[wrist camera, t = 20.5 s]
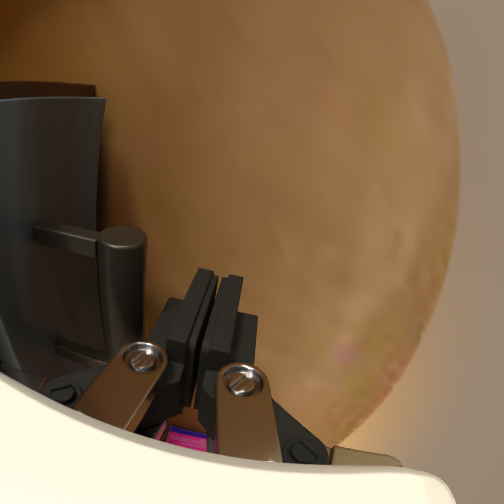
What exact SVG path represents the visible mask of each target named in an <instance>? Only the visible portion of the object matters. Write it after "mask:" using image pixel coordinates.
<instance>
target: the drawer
mask: <svg viewBox="0 0 504 504" xmlns="http://www.w3.org/2000/svg"><path fill="white" fill-rule="evenodd" d="M105 104H106V98H98V97H30V98H14V99H2V100H0V364H3V365H6V366H9V367H13V368H16V369H20V370H23V371H27V372H30V373H34V374H38V375H42V376H46V378H47V380H49V381H50V380H52V379H54V378H57V377H60V376H64V375H68V374H72V373H76V372H80V371H83V370H87V369H91V368H95V367H98V366H102V365H105V364H107V363H108V362H109V361H110V360H111V359H112V357H113V356H114V355H115V354H116V353H117V352H118V350H119V349H120V348H121V347H122V346H123V345H125V344H126V343H128V342H131V341H135V340H145V277H146V253H147V236H146V234H145V233H144V232H143V231H142V230H140V229H138V228H135V227H131V226H113V227H109V228H106V229H104V230H102V231H101V232H97V231H96V199H97V178H98V163H99V152H100V142H101V133H102V125H103V117H104V111H105ZM97 258H98V267H99V283H100V296H101V307H102V316H103V325H104V333H105V340H106V347H107V353H106V352H103V351H104V350H105V341H104V334H103V326H102V318H101V309H100V299H99V287H98V273H97Z"/></svg>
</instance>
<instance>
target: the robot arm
mask: <svg viewBox="0 0 504 504" xmlns="http://www.w3.org/2000/svg"><path fill="white" fill-rule="evenodd" d="M242 283H243V277H239V276H235V275H230V274H229V276H228V278H225V277H222V280H221V283H220V286H219V290H218V293H217V296H216V290H217V284H218V276H215V275H214V271H211V270H206V269H201V268H199V269H198V271H197V273H196V275H195V277H194V279H193V281H192V283H191V285H190V287H189V289H188V292H187V294H186V296H185V298H184V300H181V299H177V298H172V297H171V298H169V300H168V302H167V303H166V305H165V307H164V309H163V311H162V313H161V314H160V316H159V318H158V320H157V322H156V324H155V326H154V328H153V330H152V331H151V333H150V335H149V337H148V339H147V340H135V341H131V342H128V343H126V344H125V345H123V346H122V347H121V348H120V349H119V350H118V352H117V353H116V354H115V355H114V356H113V357H112V359H111V360H110V361H109V362H108V363H107V364H105V365H102V366H98V367H95V368H91V369H87V370H83V371H80V372H76V373H72V374H68V375H64V376H60V377H57V378H54V379H52V380H50V381H49V380H47V378H46V376H42V375H38V374H34V373H30V372H27V371H23V370H20V369H16V368H13V367H9V366H6V365H3V364H0V504H456V502H455V500H454V497H453V495H452V493H451V491H450V489H449V488H448V486H447V485H446V484H445V483H444V481H442V480H441V479H439V478H438V477H436V476H434V475H432V474H430V473H427V472H424V471H420V470H416V469H411V468H406V467H403V466H402V465H401V463H400V462H399V460H397V459H396V458H395V457H392V456H389V455H384V454H377V453H371V452H365V451H360V450H354V449H349V448H344V447H339V446H335V445H334V447H333V448H330V447H325V445H324V444H323V443H322V442H321V441H320V440H319V439H318V438H317V437H316V436H314V435H313V434H312V433H311V432H310V431H308V430H307V429H306V428H305V427H304V426H302V425H301V424H300V423H299V422H298V421H297V420H296V419H294V418H293V417H292V416H291V415H290V414H289V413H288V412H286V411H285V410H284V409H283V408H282V407H281V406H280V405H279V404H277V403H276V402H275V401H274V400H273V399H272V397H271V391H270V386H269V381H268V378H267V376H266V375H265V374H264V372H263V371H262V370H260V369H259V368H258V367H256V366H254V359H255V346H256V334H257V321H258V316H256V315H251V314H246V313H241V312H237V311H238V305H239V300H240V294H241V289H242ZM215 296H216V299H215ZM196 383H197V386H196ZM195 387H196V395H195V404H194V409H198V410H199V411H198V419H197V420H198V421H199V422H200V423H201V424H202V426H203V427H204V428H205V429H206V430H207V432H206V452H203V451H199V450H194V449H190V448H185V447H181V446H177V445H173V444H169V443H165V442H162V441H158V440H159V439H160V437H161V435H162V433H163V431H164V429H165V427H166V425H167V422H168V419H170V418H172V417H174V416H177V415H178V414H181V415H182V412H183V408H184V406H185V407H189V408H190V405H191V401H192V398H193V394H194V390H195Z"/></svg>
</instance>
